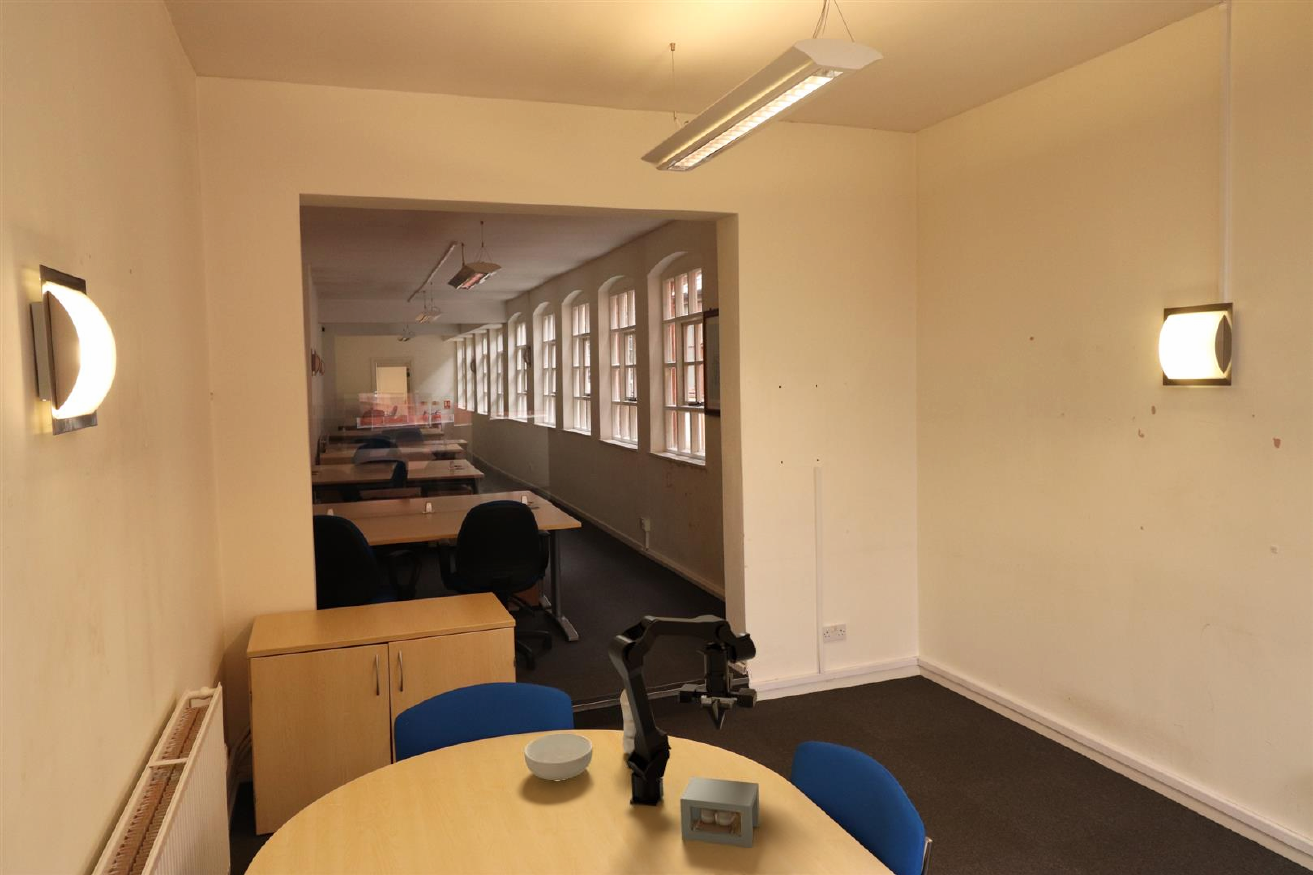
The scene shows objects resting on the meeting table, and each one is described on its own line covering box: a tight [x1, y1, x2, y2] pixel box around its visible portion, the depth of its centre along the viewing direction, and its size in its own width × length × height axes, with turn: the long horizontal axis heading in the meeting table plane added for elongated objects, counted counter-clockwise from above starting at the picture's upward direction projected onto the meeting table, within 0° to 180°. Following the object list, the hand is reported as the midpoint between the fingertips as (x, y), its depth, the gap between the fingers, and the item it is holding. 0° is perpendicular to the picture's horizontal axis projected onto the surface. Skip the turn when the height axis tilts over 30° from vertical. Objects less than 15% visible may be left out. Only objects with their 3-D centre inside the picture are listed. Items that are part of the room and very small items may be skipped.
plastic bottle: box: [619, 688, 636, 755], centre depth 226 cm, size 6×7×20 cm
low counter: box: [679, 776, 761, 849], centre depth 187 cm, size 15×10×9 cm, turn 73°
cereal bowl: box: [523, 732, 594, 781], centre depth 216 cm, size 17×17×7 cm
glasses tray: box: [694, 808, 738, 834], centre depth 193 cm, size 18×7×5 cm, turn 159°
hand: (718, 729), depth 213 cm, fingers closed
